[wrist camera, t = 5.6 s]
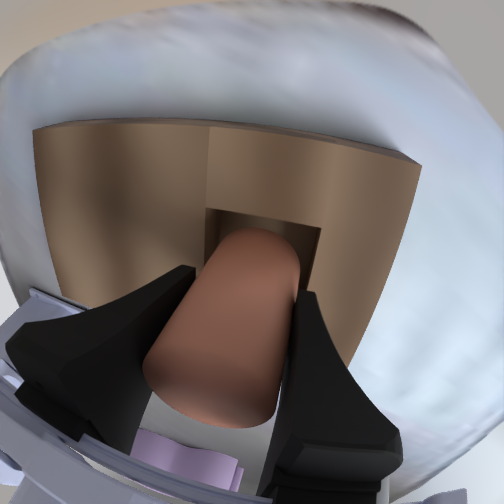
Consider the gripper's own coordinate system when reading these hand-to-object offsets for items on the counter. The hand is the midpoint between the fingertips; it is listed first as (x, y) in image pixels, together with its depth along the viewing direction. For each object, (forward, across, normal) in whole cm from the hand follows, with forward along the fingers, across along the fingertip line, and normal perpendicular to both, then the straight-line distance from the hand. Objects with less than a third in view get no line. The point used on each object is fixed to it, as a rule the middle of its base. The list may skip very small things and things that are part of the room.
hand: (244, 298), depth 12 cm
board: (+5, +4, 0) cm, 7 cm away
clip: (+6, +8, +38) cm, 39 cm away
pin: (+2, 0, 0) cm, 2 cm away
